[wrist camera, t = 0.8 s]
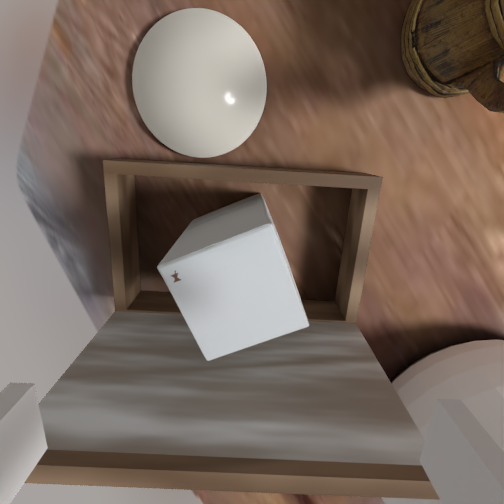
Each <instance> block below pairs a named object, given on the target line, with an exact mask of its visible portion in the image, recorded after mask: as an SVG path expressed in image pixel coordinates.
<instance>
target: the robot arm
mask: <svg viewBox="0 0 504 504" xmlns="http://www.w3.org/2000/svg"><path fill="white" fill-rule="evenodd" d="M47 448H48V447H47V443H46V438H45V433H44V428H43V423H42V418H41V413H40V409H39V404H38V399H37V394H36V390H35V384H31V383H28V384H27V383H10V384H9V385H8V386H7V387H6V388H4V390H2V391H1V392H0V504H10V503H11V502H12V500H13V499H14V497H15V496H16V494H17V493H18V491H19V490H20V488H21V487H22V485H23V484H24V482H25V481H26V479H27V478H28V476H29V475H30V473H31V472H32V471H33V469H34V468H35V466H36V465H37V463H38V462H39V460H40V459H41V457H42V456H43V454H44V453H45V451H46V450H47ZM420 463H421V465H422V466H423V468H424V470H425V472H426V474H427V476H428V478H429V480H430V482H431V483H432V485H433V487H434V489H435V491H436V493H437V495H438V497H439V498H440V500H441V502H442V504H504V452H503V451H502V450H501V448H500V447H499V446H498V445H497V444H496V442H495V441H494V440H493V439H492V438H491V436H490V435H489V434H488V433H487V431H486V430H485V429H484V428H483V427H482V425H481V424H480V423H479V422H478V420H477V419H476V418H475V417H474V416H473V414H472V413H471V412H470V411H469V409H468V408H467V407H466V406H465V405H464V403H463V402H462V401H461V400H460V399H437V401H436V405H435V408H434V412H433V415H432V419H431V422H430V426H429V429H428V433H427V436H426V440H425V443H424V447H423V450H422V454H421V457H420Z"/></svg>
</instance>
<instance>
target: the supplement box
mask: <svg viewBox="0 0 504 504" xmlns="http://www.w3.org/2000/svg"><path fill="white" fill-rule="evenodd" d="M157 269H158V271H159V272H160V274H161V276H162V278H163V280H164V281H165V283H166V285H167V287H168V289H169V290H170V292H171V294H172V296H173V298H174V300H175V302H176V303H177V305H178V307H179V309H180V311H181V313H182V315H183V317H184V319H185V321H186V323H187V325H188V327H189V328H190V330H191V332H192V334H193V336H194V338H195V340H196V342H197V344H198V345H199V347H200V349H201V351H202V353H203V355H204V357H205V358H206V360H207V361H210V360H213V359H216V358H218V357H221V356H224V355H227V354H230V353H233V352H236V351H238V350H241V349H244V348H247V347H250V346H253V345H256V344H259V343H262V342H265V341H267V340H270V339H273V338H276V337H279V336H282V335H285V334H288V333H291V332H294V331H297V330H300V329H303V328H306V327H308V326H309V322H308V319H307V316H306V313H305V310H304V307H303V304H302V301H301V298H300V295H299V292H298V289H297V286H296V284H295V281H294V278H293V275H292V272H291V269H290V266H289V262H288V260H287V257H286V254H285V252H284V249H283V246H282V243H281V241H280V238H279V236H278V233H277V230H276V228H275V225H274V223H273V220H272V217H271V215H270V213H269V210H268V208H267V205H266V203H265V200H264V198H263V196H262V194H261V193H259V194H256V195H253V196H251V197H248V198H245V199H243V200H240V201H238V202H235V203H233V204H230V205H228V206H225V207H223V208H220V209H218V210H215V211H213V212H210V213H208V214H205V215H203V216H201V217H198V218H196V219H193V220H192V221H191V223H190V224H189V225H188V227H187V228H186V229H185V231H184V232H183V233H182V235H181V236H180V237H179V238H178V240H177V241H176V242H175V244H174V245H173V246H172V248H171V249H170V250H169V252H168V253H167V254H166V255H165V257H164V258H163V259H162V261H161V262H160V263H159V265H158V266H157Z"/></svg>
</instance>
